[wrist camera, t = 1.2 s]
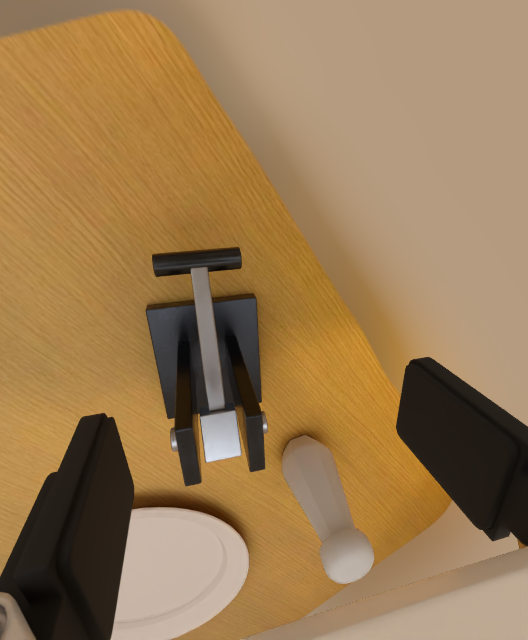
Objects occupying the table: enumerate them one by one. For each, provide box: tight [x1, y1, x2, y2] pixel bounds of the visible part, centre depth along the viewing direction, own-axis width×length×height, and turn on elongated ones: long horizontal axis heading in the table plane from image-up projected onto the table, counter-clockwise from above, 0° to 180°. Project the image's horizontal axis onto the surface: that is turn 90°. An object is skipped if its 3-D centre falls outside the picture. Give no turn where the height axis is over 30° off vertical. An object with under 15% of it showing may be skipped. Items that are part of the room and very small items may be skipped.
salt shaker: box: [282, 435, 374, 583], centre depth 31 cm, size 6×6×13 cm
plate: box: [110, 507, 249, 640], centre depth 38 cm, size 26×26×2 cm
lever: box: [152, 247, 242, 463], centre depth 21 cm, size 13×6×2 cm, turn 2°
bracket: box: [146, 294, 268, 486], centre depth 24 cm, size 11×9×12 cm
